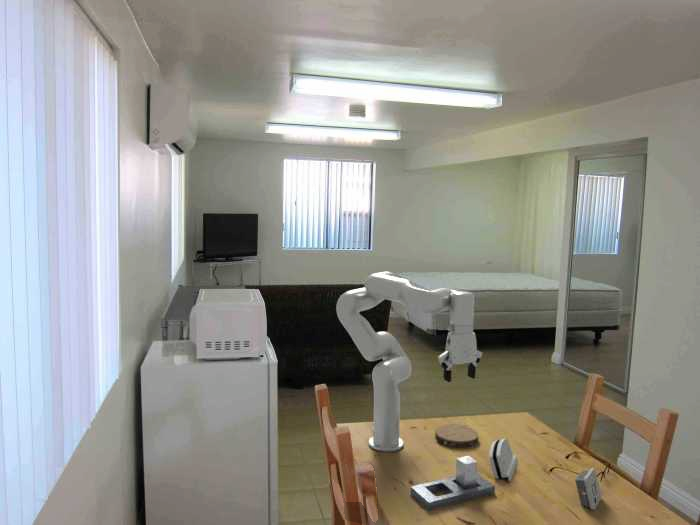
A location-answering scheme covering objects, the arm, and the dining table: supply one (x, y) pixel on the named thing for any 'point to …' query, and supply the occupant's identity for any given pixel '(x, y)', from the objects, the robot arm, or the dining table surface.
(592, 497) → the electrical switch
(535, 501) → the dining table surface
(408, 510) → the dining table surface
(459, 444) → the wood slice
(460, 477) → the steel block
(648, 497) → the dining table surface
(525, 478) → the dining table surface
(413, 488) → the grey tray with holes
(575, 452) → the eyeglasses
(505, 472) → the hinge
